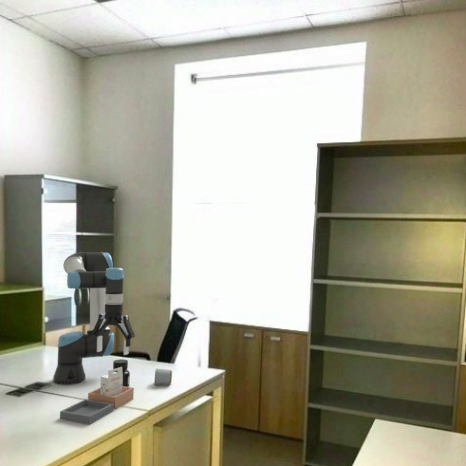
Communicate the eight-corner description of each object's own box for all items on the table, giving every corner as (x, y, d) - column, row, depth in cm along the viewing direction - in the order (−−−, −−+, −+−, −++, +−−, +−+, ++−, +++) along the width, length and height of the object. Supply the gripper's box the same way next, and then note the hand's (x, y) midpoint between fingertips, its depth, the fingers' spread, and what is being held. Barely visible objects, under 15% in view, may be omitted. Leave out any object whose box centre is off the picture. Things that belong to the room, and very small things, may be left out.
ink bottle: (133, 386, 216) (134, 361, 216) (117, 390, 209) (118, 364, 209) (122, 382, 222) (122, 357, 223) (106, 385, 216) (107, 360, 216)
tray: (59, 419, 174) (60, 411, 174) (84, 406, 188) (85, 399, 188) (89, 424, 169) (90, 416, 169) (113, 411, 183) (113, 403, 184)
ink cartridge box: (114, 398, 199) (115, 364, 199) (122, 400, 196) (123, 366, 197) (99, 403, 191) (100, 369, 192) (107, 406, 189) (108, 371, 189)
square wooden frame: (87, 405, 190) (88, 393, 190) (107, 395, 202) (107, 383, 203) (115, 409, 185) (115, 397, 185) (133, 399, 198) (133, 387, 198)
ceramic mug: (171, 386, 216) (171, 370, 217) (154, 386, 216) (154, 370, 216) (172, 380, 227) (172, 365, 227) (155, 380, 226) (156, 365, 226)
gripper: (84, 302, 196) (83, 351, 195) (134, 306, 187) (132, 357, 186) (95, 301, 203) (93, 348, 202) (143, 304, 194) (142, 353, 193)
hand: (112, 352), depth 194 cm, fingers open, 13 cm apart
